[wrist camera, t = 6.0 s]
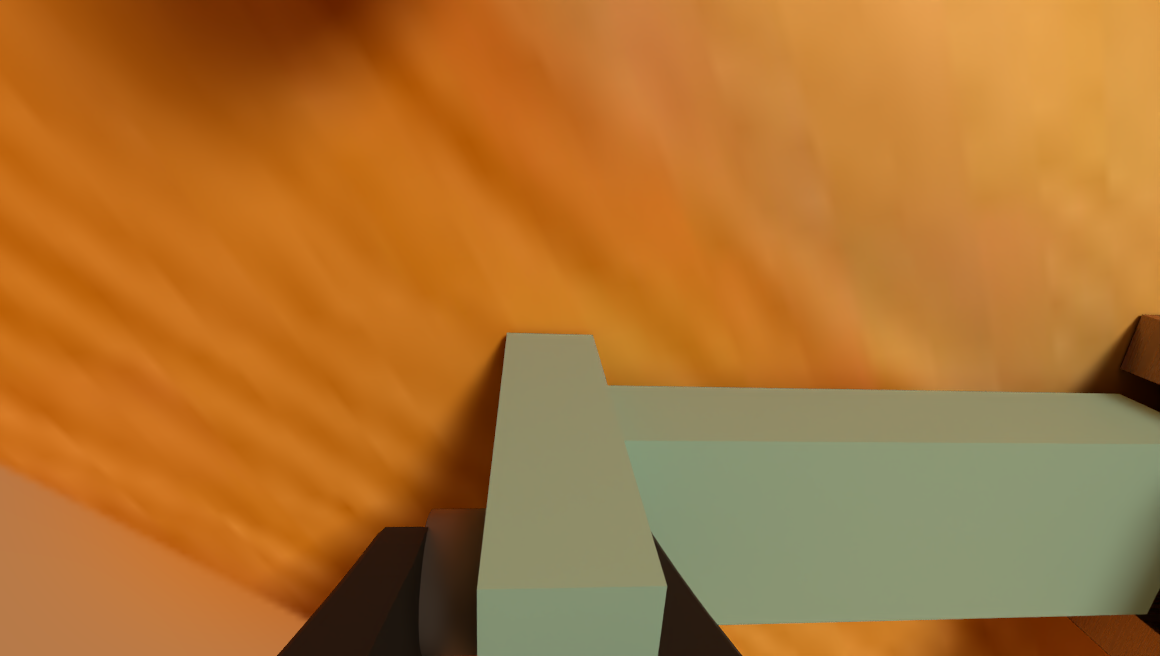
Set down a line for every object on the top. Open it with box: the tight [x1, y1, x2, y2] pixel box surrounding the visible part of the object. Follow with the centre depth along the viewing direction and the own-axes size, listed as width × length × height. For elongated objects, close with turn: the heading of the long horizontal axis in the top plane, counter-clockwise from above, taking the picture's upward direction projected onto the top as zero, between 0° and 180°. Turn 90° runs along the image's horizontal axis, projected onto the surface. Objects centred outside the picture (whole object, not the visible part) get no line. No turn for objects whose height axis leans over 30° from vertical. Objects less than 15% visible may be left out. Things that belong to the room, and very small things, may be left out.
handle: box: [419, 333, 1160, 656], centre depth 9 cm, size 14×6×6 cm, turn 87°
